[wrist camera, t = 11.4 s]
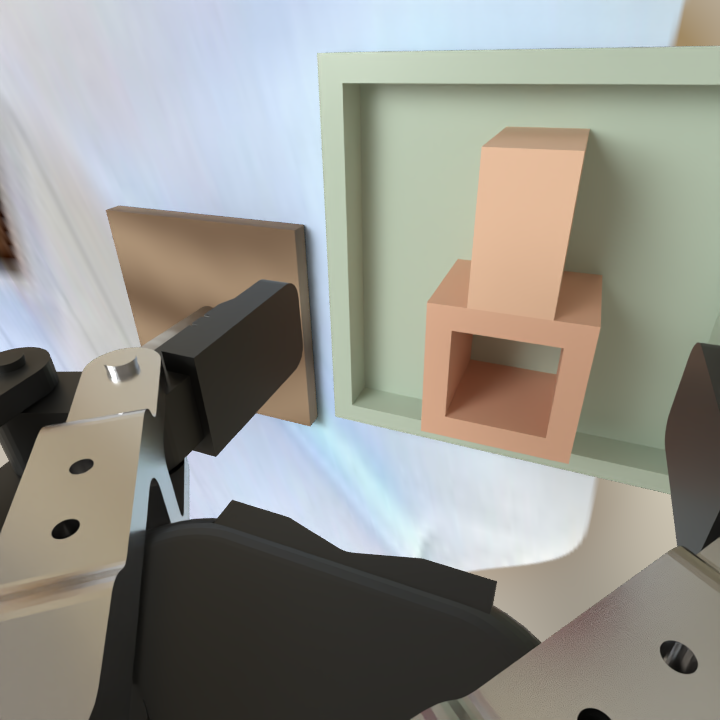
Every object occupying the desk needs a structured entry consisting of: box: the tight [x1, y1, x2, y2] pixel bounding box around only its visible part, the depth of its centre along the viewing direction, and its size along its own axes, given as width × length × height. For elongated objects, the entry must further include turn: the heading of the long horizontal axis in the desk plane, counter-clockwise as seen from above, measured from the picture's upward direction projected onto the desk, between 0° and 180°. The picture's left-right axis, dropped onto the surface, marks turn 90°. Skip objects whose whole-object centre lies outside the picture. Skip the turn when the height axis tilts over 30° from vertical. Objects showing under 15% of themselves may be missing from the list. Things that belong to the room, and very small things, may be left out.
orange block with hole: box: [421, 126, 602, 464], centre depth 21 cm, size 12×6×5 cm, turn 1°
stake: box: [106, 206, 318, 426], centre depth 29 cm, size 12×12×8 cm
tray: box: [317, 46, 720, 494], centre depth 23 cm, size 17×17×3 cm
